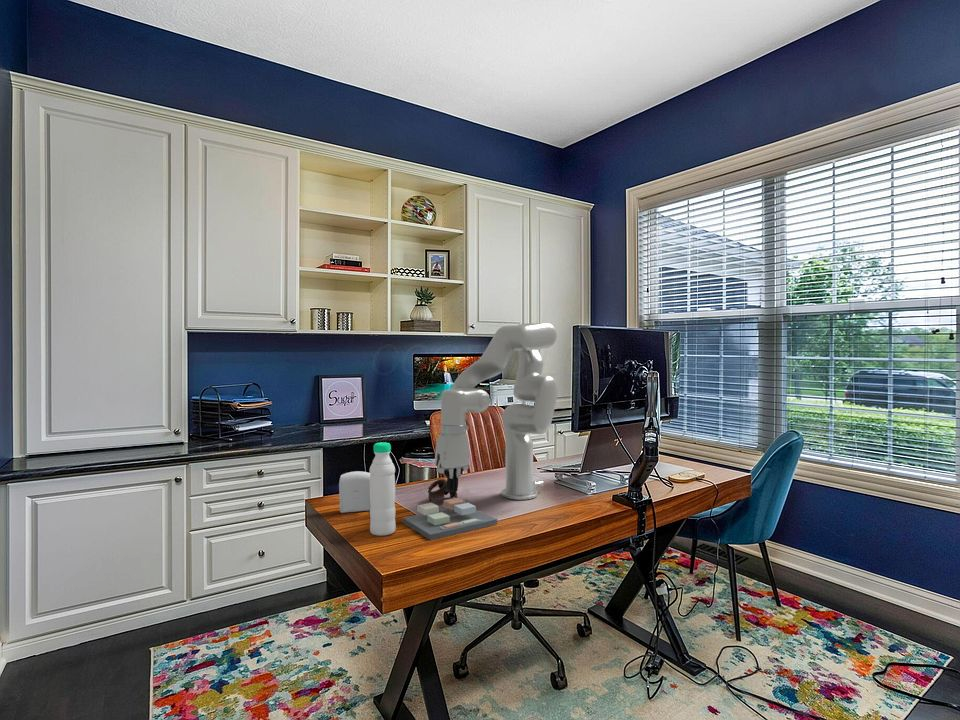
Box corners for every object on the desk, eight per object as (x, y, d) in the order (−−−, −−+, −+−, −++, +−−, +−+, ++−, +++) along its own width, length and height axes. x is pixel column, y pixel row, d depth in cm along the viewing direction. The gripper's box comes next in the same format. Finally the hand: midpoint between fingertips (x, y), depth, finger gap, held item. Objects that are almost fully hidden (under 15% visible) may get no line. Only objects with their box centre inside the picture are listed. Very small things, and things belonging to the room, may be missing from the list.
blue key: (467, 508, 160) (467, 502, 160) (475, 512, 157) (475, 506, 157) (454, 511, 158) (454, 505, 158) (462, 515, 154) (462, 509, 154)
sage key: (441, 518, 155) (441, 512, 155) (449, 522, 152) (449, 516, 152) (427, 521, 153) (427, 515, 153) (434, 525, 149) (434, 519, 149)
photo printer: (339, 514, 165) (338, 474, 165) (339, 509, 169) (339, 471, 169) (373, 511, 168) (372, 472, 167) (372, 507, 172) (372, 469, 172)
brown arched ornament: (461, 505, 175) (450, 486, 173) (435, 518, 176) (424, 498, 173) (459, 486, 187) (448, 468, 184) (435, 498, 187) (424, 480, 185)
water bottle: (365, 532, 149) (364, 443, 148) (386, 526, 154) (385, 440, 153) (379, 538, 144) (378, 446, 143) (400, 532, 149) (400, 443, 148)
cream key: (431, 508, 160) (431, 502, 160) (438, 512, 157) (438, 506, 157) (417, 511, 158) (417, 505, 158) (424, 515, 154) (424, 509, 154)
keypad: (465, 509, 169) (465, 503, 169) (497, 524, 155) (497, 517, 155) (402, 522, 157) (402, 516, 157) (430, 540, 143) (430, 532, 143)
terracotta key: (457, 503, 165) (457, 497, 165) (464, 507, 162) (464, 501, 162) (443, 506, 163) (443, 500, 163) (451, 509, 159) (451, 503, 159)
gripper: (467, 427, 169) (466, 485, 169) (425, 430, 160) (424, 491, 161) (480, 430, 163) (479, 490, 163) (437, 433, 154) (437, 496, 154)
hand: (452, 490), depth 162 cm, fingers closed
